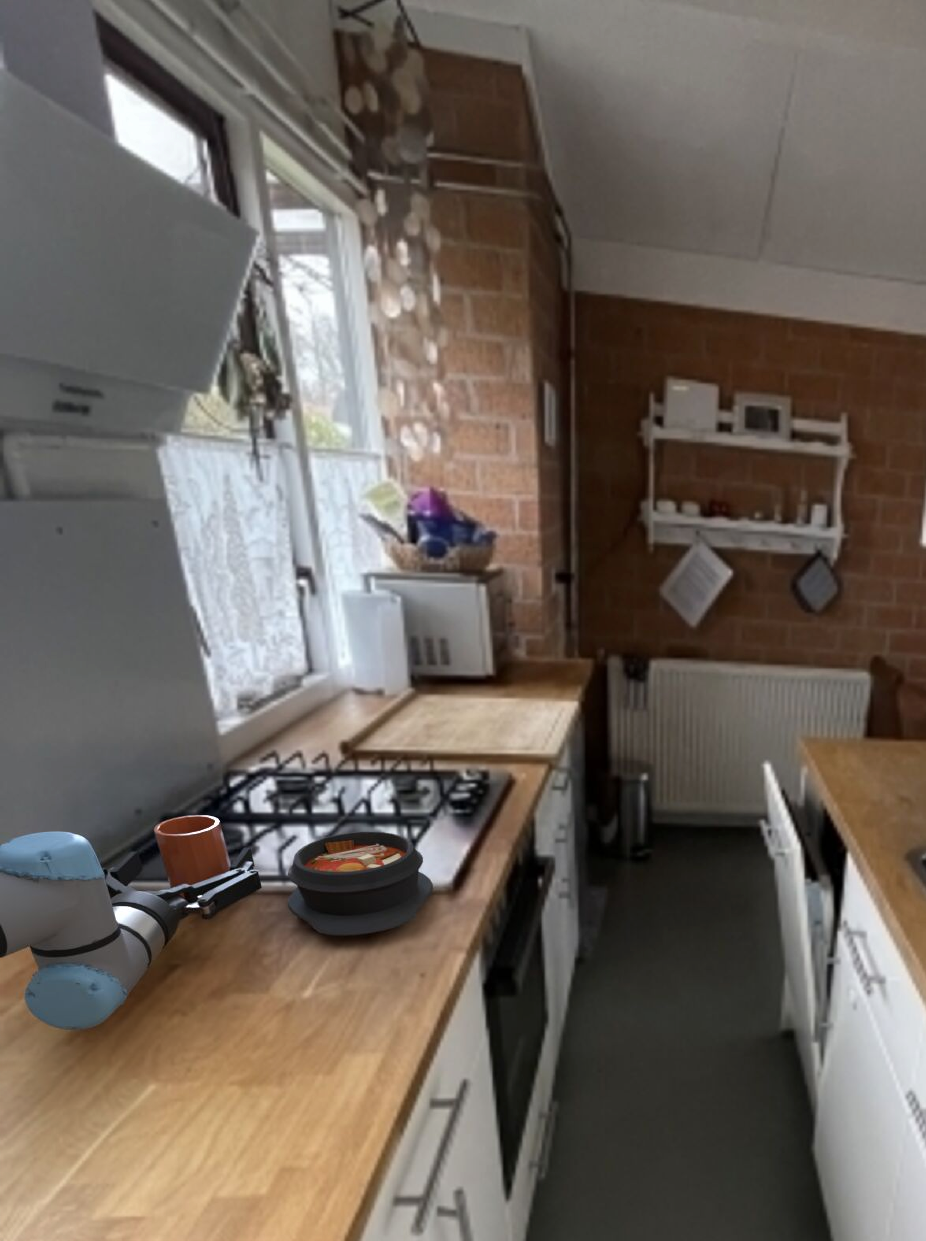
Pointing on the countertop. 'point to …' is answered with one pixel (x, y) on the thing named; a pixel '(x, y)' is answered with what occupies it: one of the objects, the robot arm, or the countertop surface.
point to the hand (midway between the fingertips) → (194, 858)
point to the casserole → (358, 883)
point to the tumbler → (192, 849)
